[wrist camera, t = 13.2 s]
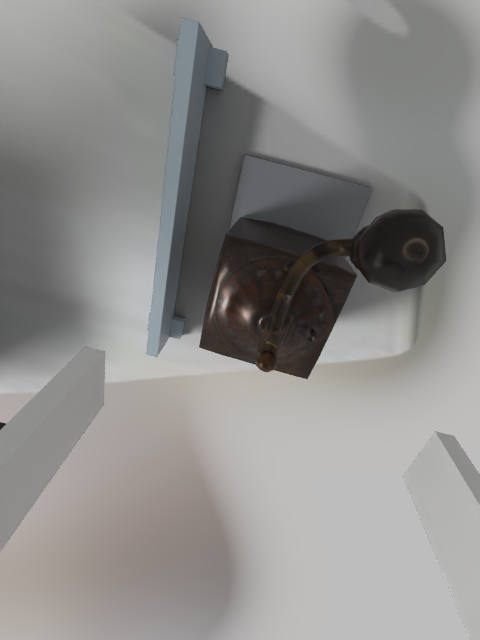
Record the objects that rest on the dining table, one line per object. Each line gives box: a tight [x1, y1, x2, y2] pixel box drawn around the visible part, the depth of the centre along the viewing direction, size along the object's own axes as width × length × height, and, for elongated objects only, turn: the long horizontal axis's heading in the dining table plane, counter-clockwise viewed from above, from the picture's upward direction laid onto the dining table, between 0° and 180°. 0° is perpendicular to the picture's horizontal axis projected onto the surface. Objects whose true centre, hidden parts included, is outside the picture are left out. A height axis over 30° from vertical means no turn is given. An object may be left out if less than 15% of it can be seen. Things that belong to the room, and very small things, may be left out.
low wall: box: [146, 18, 228, 357], centre depth 30 cm, size 4×28×5 cm, turn 167°
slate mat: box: [229, 155, 373, 258], centre depth 32 cm, size 12×16×1 cm
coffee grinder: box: [199, 210, 446, 379], centre depth 24 cm, size 16×11×18 cm
